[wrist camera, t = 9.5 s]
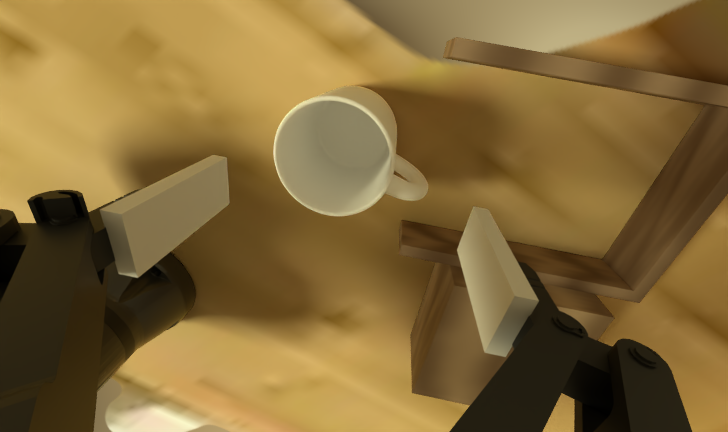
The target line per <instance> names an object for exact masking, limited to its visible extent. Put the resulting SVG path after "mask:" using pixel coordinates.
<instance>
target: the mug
mask: <svg viewBox="0 0 728 432" xmlns="http://www.w3.org/2000/svg"><path fill="white" fill-rule="evenodd" d="M396 145H397V124H396V120H395V116H394V114H393V112H392V110H391V108H390V106H389V105H388V103H387V102H386V101H385V100H384V99H383V98H382V97H381V96H380V95H378V94H377V93H376V92H374V91H372V90H370V89H368V88H365V87H361V86H344V87H339V88H336V89H334V90H331V91H329V92H326V93H324V94H321V95H318V96H316V97H313V98H311V99H308V100H306V101H304V102H302V103H300V104H298V105H297V106H295V107H294V108H293V109H292V110H291V111H290V112H289V113H288V114H287V115H286V116H285V117H284V119H283V120H282V122H281V124H280V126H279V128H278V130H277V133H276V136H275V141H274V152H273V153H274V162H275V167H276V170H277V173H278V176H279V178H280V180H281V182H282V183H283V185H284V187H285V188H286V189H287V191H288V192H289V193H290V194H291V195H292V196H293V197H294V198H295V199H296V200H297V201H298V202H299V203H301V204H302V205H304V206H305V207H307V208H308V209H311V210H313V211H315V212H318V213H320V214H324V215H329V216H349V215H353V214H357V213H360V212H362V211H364V210H366V209H368V208H370V207H371V206H373V205H374V204H375V203H376V202H377V201H378V200H380V199H381V197H382V196H383V195H384V194H385V193H386V194H388V195H390V196H393V197H395V198H398V199H402V200H408V201H417V200H420V199H422V198H423V197H424V196H425V195H426V194H427V192H428V183H427V181H426V179H425V177H424V176H423V174H422V173H421V172H420V171H419V170H418V169H417V168H416V167H415V166H413V165H412V164H411V163H409V162H408V161H407V160H405V159H404V158H402V157H401V156H399V155H398V154H396ZM394 171H396V172H397V173H399V174H400V175H402V176H403V177H404V178H406V179H407V180H408V181H409V182H408V181H406V180H404V179H402V178H400V177H398V176H396V175H395V174H393V173H394Z"/></svg>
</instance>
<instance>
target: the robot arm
mask: <svg viewBox="0 0 728 432" xmlns="http://www.w3.org/2000/svg"><path fill="white" fill-rule="evenodd" d="M27 202H28V204H29V206H30V209H31V211H32V213H33V216H34V218H35V221H36V223H18V221H17V219H16V216H15V214H14V213H13V211H10V210H5V209H0V432H93V431H94V420H95V410H96V399H97V392H98V391H99V390H100V389H101V388H102V386H103V385H104V384H105V383H106V382H107V381H108V380H109V379H110V378H111V377H112V376H113V374H114V373H115V372H116V371H117V370H118V369H119V368H120V367H121V366H122V365H123V364H124V362H125V361H126V360H127V359H128V358H129V357H130V356H131V355H132V354H133V353H134V352H135V351H136V350H137V349H138V348H140V347H141V346H143V345H144V344H146V343H147V342H149V341H151V340H152V339H154V338H155V337H157V336H158V335H160V334H161V333H162V332H164V331H165V330H168V329H170V328H172V327H173V326H175V325H176V324H178V323H179V322H180V321H181V320H182V319H183V318H184V316H185V315H186V314H187V313H188V312H189V311H190V309H191V308H192V306H193V304H194V301H195V289H194V285H193V282H192V280H191V278H190V276H189V274H188V272H187V271H186V269H185V268H184V267H183V266H182V264H181V263H180V262H179V261H178V260H177V259H176V258H175V257H174V256H173V255H172V254H170V253H169V252H171V251H172V250H173V249H174V248H176V247H177V246H178V245H179V244H180V243H182V242H183V241H184V240H185V239H187V238H188V237H189V236H190V235H192V234H193V233H194V232H195V231H197V230H198V229H199V228H200V227H202V226H203V225H204V224H205V223H206V222H208V221H209V220H210V219H211V218H213V217H214V216H215V215H216V214H218V213H219V212H220V211H221V210H223V209H224V208H225V207H226V206H228V205H229V204H230V200H229V184H228V168H227V157H222V156H217V155H211V156H209V157H207V158H205V159H203V160H201V161H199V162H197V163H195V164H193V165H191V166H189V167H187V168H185V169H182V170H180V171H178V172H176V173H174V174H172V175H170V176H168V177H166V178H164V179H162V180H160V181H158V182H156V183H154V184H151V185H149V186H147V187H145V188H143V189H139V190H135V191H133V192H131V193H129V194H126V195H124V197H120V198H118V199H116V200H115V201H112V202H110V203H108V204H105V205H103V206H101V207H99V208H97V209H95V210H93V211H91V212H89V213H88V210H87V207H86V204H85V201H84V198H83V195H82V193H80V192H78V191H73V190H56V191H49V192H45V193H41V194H38V195H35V196H33V197H31V198H30V199H29V200H27ZM457 252H458V256H459V259H460V263H461V267H462V271H463V274H464V278H465V282H466V285H467V289H468V293H469V297H470V300H471V304H472V308H473V312H474V315H475V319H476V323H477V326H478V330H479V334H480V338H481V341H482V345H483V349H484V353H489V354H493V355H498V356H503V357H506V356H507V354H508V352H509V351H510V349H511V347H512V346H513V348H514V350H513V352H512V353H511V354H510V356H509V357H508V358H507V359H506V361H505V362H504V363H503V364H502V366H501V367H500V368H499V370H498V371H497V372H496V373H495V375H494V376H493V377H492V378H491V380H490V381H489V382H488V384H487V385H486V386H485V387H484V389H483V390H482V391H481V392H480V394H479V395H478V396H477V397H476V399H475V400H474V401H473V403H472V404H471V405H470V406H469V408H468V409H467V410H466V411H465V413H464V414H463V415H462V417H461V418H460V419H459V420H458V422H457V423H456V424H455V425H454V427H453V428H452V429H451V431H450V432H542V431H543V429H544V427H545V425H546V423H547V421H548V419H549V417H550V415H551V413H552V411H553V409H554V407H555V405H556V403H557V401H558V399H559V397H560V395H561V393H563V394H565V395H567V396H569V397H571V398H573V399H575V425H574V432H692V430H691V427H690V424H689V421H688V418H687V415H686V412H685V409H684V406H683V403H682V401H681V398H680V395H679V392H678V389H677V386H676V383H675V380H674V377H673V374H672V371H671V369H670V368H669V366H668V364H667V363H666V362H665V361H664V360H663V359H662V358H661V357H660V356H659V355H658V354H657V353H656V352H655V351H653V350H652V349H650V348H649V347H646V346H644V345H642V344H641V343H638V342H636V341H633V340H630V339H620V340H618V341H617V342H616V344H615V345H614V346H613V347H611V346H609V345H606V344H604V343H602V342H599V341H597V340H595V339H592V338H590V337H588V333H587V331H586V329H585V328H584V327H583V326H582V325H581V323H580V322H579V321H577V320H576V319H574V318H573V317H572V316H570V315H568V314H566V313H564V312H561V311H559V309H558V308H557V306H556V305H555V303H554V301H553V300H552V298H551V296H550V295H549V293H548V292H547V290H546V289H545V287H544V285H543V283H542V282H540V281H541V280H540V278H539V277H538V275H537V274H536V272H535V271H534V270H533V269H532V268H531V267H530V266H528V265H527V264H526V263H523V262H518V261H517V260H516V258H515V257H514V255H513V253H512V251H511V249H510V248H509V246H508V244H507V242H506V240H505V239H504V237H503V235H502V233H501V231H500V230H499V228H498V226H497V224H496V222H495V221H494V219H493V217H492V215H491V213H490V211H489V210H488V209H485V208H480V207H475V206H473V209H472V211H471V214H470V217H469V219H468V222H467V225H466V227H465V230H464V233H463V235H462V238H461V241H460V243H459V246H458V249H457Z"/></svg>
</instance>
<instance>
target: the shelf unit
mask: <svg viewBox="0 0 728 432" xmlns="http://www.w3.org/2000/svg"><path fill="white" fill-rule="evenodd" d="M443 58H447V59H452V60H458V61H464V62H469V63H475V64H480V65H486V66H491V67H497V68H502V69H508V70H513V71H519V72H525V73H530V74H536V75H541V76H547V77H552V78H558V79H563V80H569V81H574V82H580V83H585V84H591V85H597V86H602V87H608V88H613V89H619V90H624V91H630V92H635V93H641V94H646V95H652V96H658V97H663V98H669V99H674V100H680V101H685V102H691V103H696V104H702V105H705V106H704V108H703V109H702V111H701V112H700V114H699V115H698V117H697V118H696V120H695V121H694V123H693V124H692V126H691V127H690V129H689V130H688V132H687V133H686V135H685V136H684V138H683V139H682V141H681V142H680V144H679V145H678V147H677V148H676V150H675V151H674V153H673V154H672V156H671V157H670V159H669V160H668V162H667V163H666V165H665V166H664V168H663V169H662V171H661V172H660V174H659V175H658V177H657V178H656V180H655V181H654V183H653V184H652V186H651V187H650V189H649V190H648V192H647V193H646V195H645V196H644V198H643V199H642V201H641V202H640V204H639V205H638V207H637V208H636V210H635V211H634V213H633V214H632V216H631V217H630V219H629V220H628V222H627V223H626V225H625V226H624V228H623V229H622V231H621V232H620V234H619V235H618V237H617V239H616V240H615V242H614V243H613V245H612V246H611V248H610V249H609V251H608V252H607V254H606V255H605V257H604V258H603V260H602V259H597V258H592V257H586V256H581V255H576V254H571V253H566V252H561V251H556V250H551V249H546V248H541V247H536V246H531V245H526V244H521V243H515V242H510V241H506V242H507V244H508V246H509V248H510V249H511V251H512V253H513V255H514V257H515V258H516V260H517V261H518V262H523V263H526V264H527V265H528V266H530V267H531V268H532V269H533V270H534V271H535V272H536V274H537V275H538V277H539V278H540V280H541V281H540V282H542V283H543V285H544V287H545V289H546V290H547V292H548V293H549V295H550V296H551V298H552V300H553V301H554V303H555V305H556V306H557V308H558V309H559V311H561V312H564V313H566V314H568V315H570V316H572V317H573V318H574V319H576V320H577V321H579V322H580V323H581V325H582V326H583V327H584V328H585V329H586V331H587V333H588V337H590V338H592V339H595V340H598V339H599V337H600V336H601V335H602V334H603V332H604V331H605V330H606V328H607V327H608V326H609V325H610V323H611V322H612V321H613V319H614V317H613V315H612V314H611V313H610V312H609V311H608V309H607V308H606V307H605V306H604V304H603V303H602V302H601V301H600V300H599V298H598V297H597V296H596V295H595V294H597V295H602V296H607V297H612V298H617V299H622V300H627V301H632V302H637V303H640V302H641V300H642V299H643V298H644V297H645V295H646V294H647V293H648V292H649V290H650V289H651V288H652V287H653V286H654V284H655V283H656V282H657V281H658V279H659V278H660V277H661V276H662V274H663V273H664V272H665V271H666V269H667V268H668V267H669V266H670V264H671V263H672V262H673V261H674V260H675V258H676V257H677V256H678V255H679V253H680V252H681V251H682V250H683V248H684V247H685V246H686V245H687V243H688V242H689V241H690V240H691V238H692V237H693V236H694V235H695V234H696V232H697V231H698V230H699V229H700V227H701V226H702V225H703V224H704V222H705V221H706V220H707V219H708V217H709V216H710V215H711V214H712V212H713V211H714V210H715V209H716V208H717V206H718V205H719V204H720V203H721V201H722V200H723V199H724V198H725V196H726V195H727V194H728V86H727V85H721V84H716V83H710V82H705V81H699V80H693V79H688V78H682V77H677V76H671V75H665V74H660V73H654V72H648V71H643V70H637V69H632V68H626V67H620V66H615V65H609V64H604V63H598V62H592V61H587V60H581V59H576V58H570V57H564V56H559V55H553V54H547V53H542V52H536V51H530V50H525V49H519V48H514V47H508V46H503V45H497V44H491V43H485V42H480V41H475V40H469V39H463V38H458V37H456V38H454V39H452V40H449V41H447V43H446V47H445V52H444V55H443ZM463 233H464V232H460V231H455V230H450V229H445V228H439V227H434V226H429V225H424V224H419V223H414V222H409V221H404V220H402V222H401V226H400V233H399V255H403V256H408V257H413V258H417V259H422V260H427V261H432V262H435V265H434V268H433V271H432V274H431V277H430V280H429V283H428V286H427V289H426V292H425V295H424V298H423V301H422V303H421V306H420V309H419V312H418V315H417V318H416V321H415V324H414V327H413V330H412V333H411V371H412V393H415V394H419V395H424V396H429V397H433V398H438V399H443V400H447V401H452V402H457V403H461V404H466V405H471V404H472V403H473V401H474V400H475V399H476V397H477V396H478V395H479V394H480V392H481V391H482V390H483V389H484V387H485V386H486V385H487V384H488V382H489V381H490V380H491V378H492V377H493V376H494V375H495V373H496V372H497V371H498V370H499V368H500V367H501V366H502V364H503V363H504V362H505V361H506V359H507V358H508V357H509V356H510V354H511V353H512V352H513V350H514V348H513V346H512V347H511V349H510V351H509V352H508V354H507V356H506V357H503V356H498V355H493V354H489V353H484V349H483V345H482V341H481V338H480V334H479V330H478V326H477V323H476V319H475V315H474V312H473V308H472V304H471V300H470V297H469V293H468V289H467V285H466V282H465V278H464V274H463V271H462V267H461V263H460V259H459V256H458V252H457V249H458V246H459V243H460V241H461V238H462V235H463Z"/></svg>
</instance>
